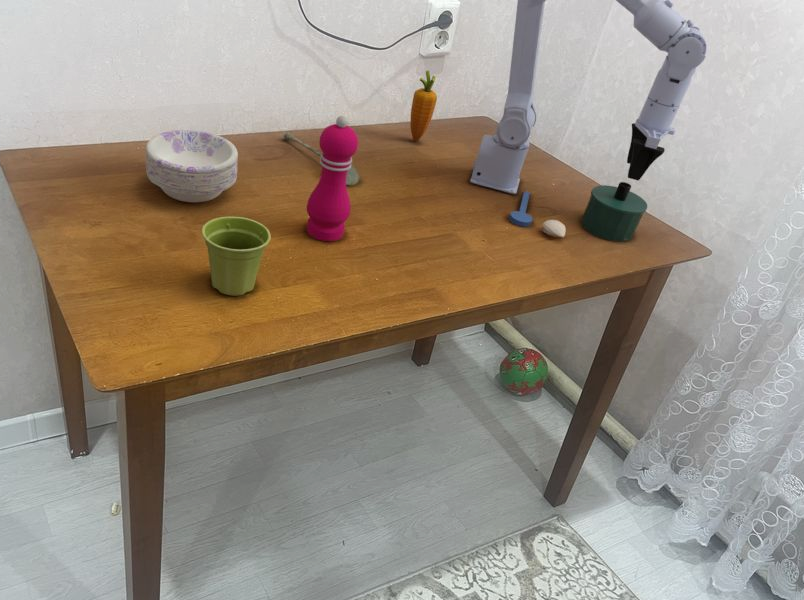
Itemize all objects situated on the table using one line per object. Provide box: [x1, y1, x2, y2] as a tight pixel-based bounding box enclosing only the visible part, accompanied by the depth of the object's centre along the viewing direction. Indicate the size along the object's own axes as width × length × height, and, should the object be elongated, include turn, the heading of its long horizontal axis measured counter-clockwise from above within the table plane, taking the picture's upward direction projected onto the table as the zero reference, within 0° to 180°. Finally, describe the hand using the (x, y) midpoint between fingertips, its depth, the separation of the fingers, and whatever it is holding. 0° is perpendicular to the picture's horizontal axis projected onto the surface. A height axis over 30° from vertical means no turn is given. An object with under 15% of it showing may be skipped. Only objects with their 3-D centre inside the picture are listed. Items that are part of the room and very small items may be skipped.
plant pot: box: [201, 215, 272, 297], centre depth 101 cm, size 9×9×9 cm
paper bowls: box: [145, 129, 239, 203], centre depth 122 cm, size 15×15×8 cm
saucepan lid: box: [590, 181, 648, 214], centre depth 133 cm, size 10×10×4 cm
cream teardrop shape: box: [541, 219, 566, 238], centre depth 130 cm, size 4×5×2 cm
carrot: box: [409, 70, 438, 143], centre depth 152 cm, size 5×5×15 cm
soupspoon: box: [282, 131, 361, 186], centre depth 140 cm, size 22×3×7 cm
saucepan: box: [581, 194, 644, 242], centre depth 135 cm, size 10×10×6 cm
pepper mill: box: [306, 115, 359, 242], centre depth 114 cm, size 7×7×20 cm
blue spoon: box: [508, 190, 533, 227], centre depth 138 cm, size 4×15×1 cm, turn 163°
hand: (632, 171), depth 136 cm, fingers open, 7 cm apart
